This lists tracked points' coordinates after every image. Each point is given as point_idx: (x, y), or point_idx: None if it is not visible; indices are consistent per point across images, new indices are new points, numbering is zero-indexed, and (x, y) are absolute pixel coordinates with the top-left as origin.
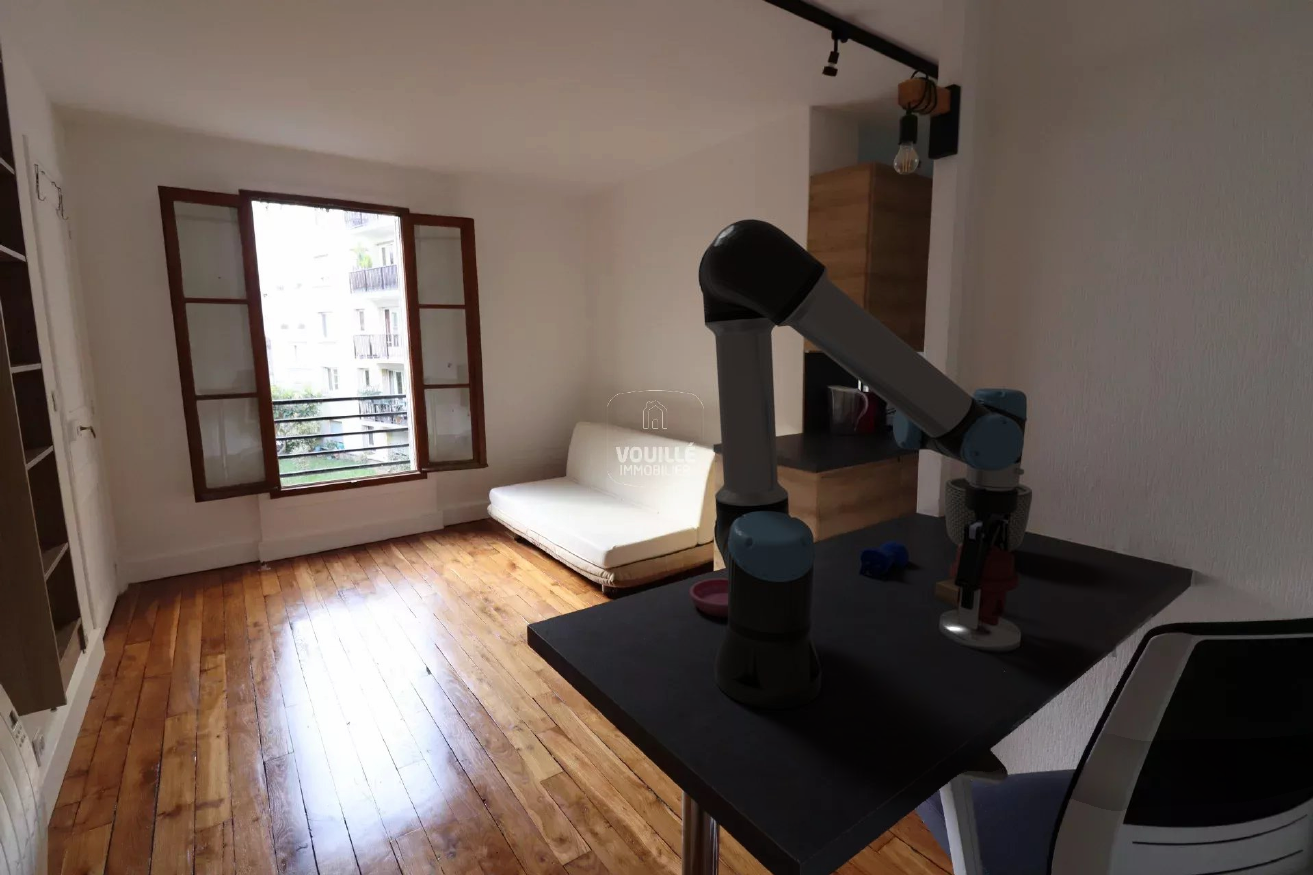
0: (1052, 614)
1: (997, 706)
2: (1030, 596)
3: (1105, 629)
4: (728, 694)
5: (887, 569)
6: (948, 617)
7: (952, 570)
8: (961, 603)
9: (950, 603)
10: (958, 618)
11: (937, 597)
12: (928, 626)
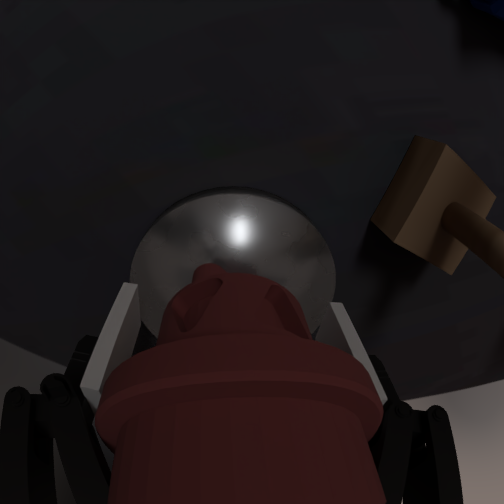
0: (411, 350)
1: (14, 337)
2: (473, 307)
3: None
4: None
5: (479, 7)
6: (229, 218)
7: (123, 390)
8: (78, 345)
9: (392, 183)
10: (118, 294)
11: (414, 143)
12: (183, 163)
